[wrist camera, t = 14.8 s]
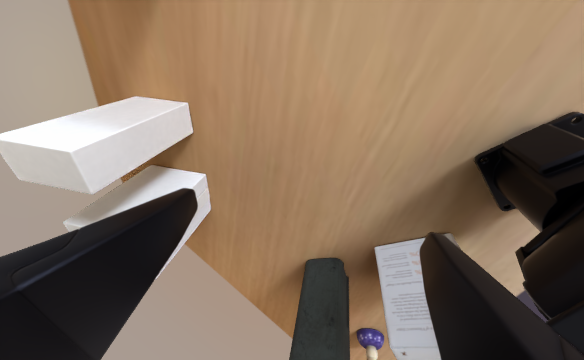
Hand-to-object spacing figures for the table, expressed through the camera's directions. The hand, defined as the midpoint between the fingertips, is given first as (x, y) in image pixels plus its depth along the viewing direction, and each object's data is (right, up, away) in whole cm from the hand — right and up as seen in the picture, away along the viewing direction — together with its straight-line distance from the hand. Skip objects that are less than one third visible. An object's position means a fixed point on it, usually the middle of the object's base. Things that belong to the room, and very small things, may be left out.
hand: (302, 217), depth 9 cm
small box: (+14, -7, +17) cm, 23 cm away
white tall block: (-13, +8, +14) cm, 21 cm away
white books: (-14, 0, +19) cm, 23 cm away
